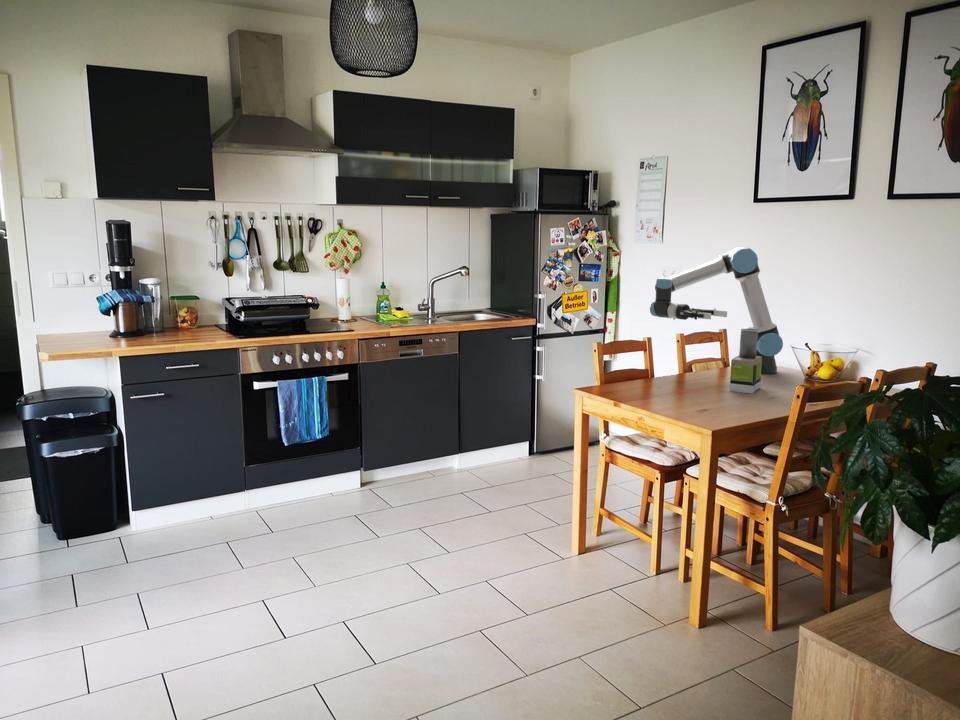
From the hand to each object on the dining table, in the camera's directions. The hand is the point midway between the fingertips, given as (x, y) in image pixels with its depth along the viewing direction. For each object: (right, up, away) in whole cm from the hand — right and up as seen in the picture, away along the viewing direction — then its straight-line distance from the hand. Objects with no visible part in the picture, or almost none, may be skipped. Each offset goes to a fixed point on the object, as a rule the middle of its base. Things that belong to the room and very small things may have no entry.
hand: (718, 315), depth 333 cm
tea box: (+8, -34, -11) cm, 37 cm away
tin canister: (+8, -20, -14) cm, 25 cm away
